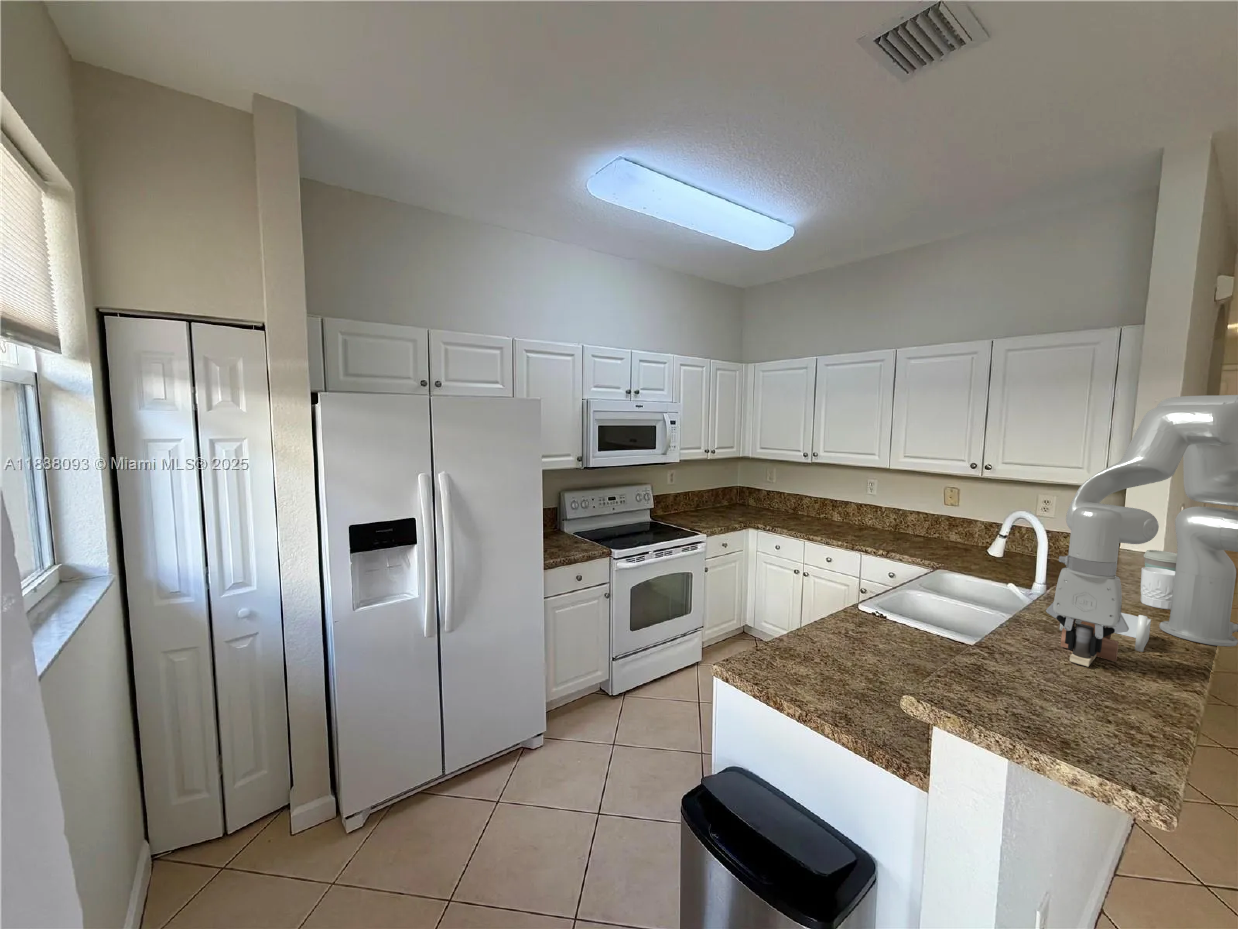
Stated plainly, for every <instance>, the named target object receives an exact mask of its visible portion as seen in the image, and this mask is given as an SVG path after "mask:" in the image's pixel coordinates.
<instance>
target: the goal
mask: <svg viewBox="0 0 1238 929" xmlns="http://www.w3.org/2000/svg"><path fill="white" fill-rule="evenodd" d="M1121 614H1122V616H1123V618H1124V620H1125V622H1126V623H1127V625H1128V627H1129V630H1128V631H1127V632H1121V633H1117V634H1119V635H1122V636H1127V637H1131V638H1134V639H1135V644H1134V645H1135V646H1134V650H1135V651H1138V652H1141V653H1142V652H1144V651H1145V647H1146V645H1147V643H1148V642H1149V639H1150V631H1151V625H1152V624H1151V622H1152V619H1151V618H1148V616H1147V615H1143V614H1138V616H1136V615H1132V614H1129V613H1124V612H1121ZM1081 622H1082V621H1080V620H1076V621H1075V624H1081ZM1063 628H1064V626H1063V625H1062V624H1061V623H1060V622H1059V631H1061V632H1062V629H1063Z"/></svg>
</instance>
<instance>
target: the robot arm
mask: <svg viewBox="0 0 1238 929" xmlns="http://www.w3.org/2000/svg"><path fill="white" fill-rule="evenodd" d="M1182 458H1183V459H1182ZM1182 460H1183V462H1182V463H1183V464H1182V465H1183V487H1184V489H1183V490H1184V493H1185V495H1186V496H1187V498H1188V499H1190V500H1192V501H1194V502H1198V503H1205V504H1211V505H1218V506H1219V505H1220V506H1227V507H1229V506H1230V507H1236V508H1237V507H1238V394H1225V395H1224V394H1223V395H1217V394H1216V395H1215V394H1214V395H1206V394H1205V395H1185V396H1174V397H1169V398H1166V399H1162V400H1161V401H1160V402H1158V404H1157V406H1156V407H1155V408H1152V409H1150V410H1149V411H1147V412H1146V413H1145V414H1144V416H1143V418H1142V419H1141V421H1140V423H1139V425H1138V427H1137V428H1136V430H1135V433H1134V435H1133V437H1132V439H1131V441H1130V442H1129V445H1128V447H1127V448H1126V450H1125V452H1124V454H1123V456H1122V458H1121V459H1120V460H1119V461H1118V462H1116V463H1114V464H1112V465H1109V466H1108V467H1106V468H1104V469H1103V470H1101V471H1099V472H1097V473H1095V474H1093V475H1092V476H1091V477H1089V478H1088V479H1086V480H1085V481H1084V482H1082V484H1081V485H1080V486H1079V488H1078V489H1077V491H1076V493H1075V494H1074V496H1073V498H1072V500H1071V502H1070V504H1069V506H1068V508H1067V511H1066V512H1067V513H1066V516H1065V521H1066V525H1067V527H1068V529H1069V530H1070V536H1069V545H1068V554H1067V555H1064V556H1062V555H1059V556H1058V557H1059V558H1058V562H1059V563H1063V564H1064V565H1065V567H1063V568H1061V570H1060V573H1059V575H1058V579H1057V584H1056V587H1055V594H1054V598H1053V602H1052V603H1051V604H1050V605H1049V606H1048V607H1047V608H1046V610H1045V612H1046V613H1047V614H1048V615H1049V616H1051V617H1053V618H1054V619H1055V620H1057V621H1058V622H1059V624H1060V623H1061V624H1062V625H1063V626H1064V629H1065V630H1066V637H1065V643H1066V644H1068V648H1067V650H1069V651H1073V649H1074V640H1075V630H1076V623H1075V621H1076V620H1080V621H1084V622H1088V623H1093V624H1095V633H1094V635H1093V636H1092V638H1091V646H1090V655H1091V656H1095V655H1096V654H1097V652H1099V653H1100V652H1101V648H1102V639H1103V637H1106V636H1108V635H1111V636H1112V635H1113V634H1118V633H1121V632H1127V631H1128V630H1129V627H1128V625H1127V623H1126V622H1125V620H1124V618H1123V616H1122V614H1121V613H1122V607H1123V606H1122V605H1123V604H1122V602H1123V601H1122V598H1123V594H1122V584H1121V579H1120V577H1119V576H1117V567H1118V558H1119V550H1120V549H1119V548H1120V544H1127V545H1142V544H1146V543H1148V542H1150V541H1153V539H1154V538H1155V537H1156V536H1157V534H1158V531H1159V527H1160V526H1159V525H1160V524H1159V521H1158V520H1157V518H1156V516H1155V515H1154V514H1152V513H1151V512H1150V511H1147V510H1145V509H1140V508H1136V507H1135V508H1134V507H1130V506H1129V507H1128V506H1121V505H1115V504H1108V503H1107V504H1106V503H1101V502H1102V501H1103V500H1104V499H1106V498H1107V497H1108V496H1110V495H1112V494H1114V493H1116V492H1120V491H1123V490H1125V489H1131V488H1135V487H1141V486H1145V485H1149V484H1155V483H1159V482H1163V481H1166V480H1168V479H1170V478H1171V477H1173V475H1175V472H1176V471H1177V468H1178V466H1179V465H1180V463H1181V461H1182ZM1174 528H1175V529H1174V531H1175V535H1176V536H1175V537H1176V547H1177V548H1176V554H1177V561H1176V570H1175V578H1174V587H1173V595H1172V604H1171V609H1170V615H1169V620H1167V621H1166V620H1165V621H1161V622H1159V629H1160V630H1162V631H1163V632H1165V633H1167V634H1169V635H1171V636H1174V637H1176V638H1180V639H1183V640H1187V641H1191V642H1195V643H1200V644H1205V645H1210V646H1218V647H1235V646H1238V638H1236V637H1235V636H1233V634H1235V633H1236V632H1237V633H1238V623H1234V622H1232V621H1231V617H1232V615H1231V614H1232V608H1233V600H1234V592H1235V585H1236V578H1237V568H1236V566H1235V563H1234V561H1233V560H1232V559H1231V557H1229V555H1228V554H1227V552H1226V551H1230V552H1235V553H1236V552H1237V553H1238V510H1236V509H1231V508H1230V509H1228V508H1221V507H1214V506H1213V507H1212V506H1191V507H1187V508H1184V509H1182V510H1180V511H1179V513H1177V515H1176V517H1175V521H1174ZM1105 626H1106V628H1105Z"/></svg>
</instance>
